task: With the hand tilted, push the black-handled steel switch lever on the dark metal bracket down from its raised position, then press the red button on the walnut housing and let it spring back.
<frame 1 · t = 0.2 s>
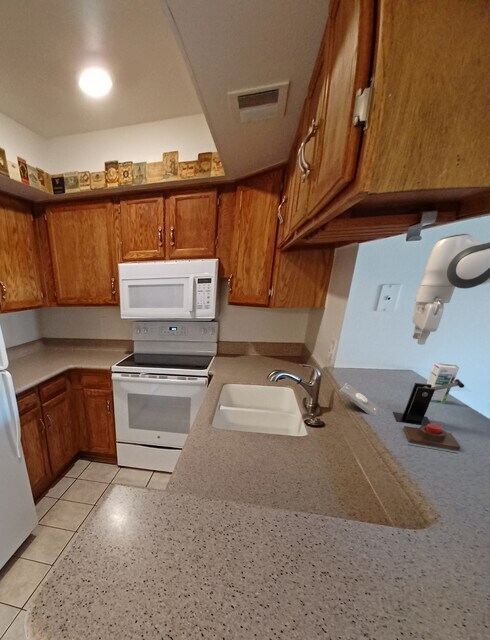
hand: (418, 341, 107), 25 cm above the worktop, tool pointing down, fingers open, 8 cm apart
syrup box: (431, 401, 125), on the worktop
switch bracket: (410, 422, 110), on the worktop
switch lever: (439, 387, 103), point 13 cm above the worktop, hinge at 25.0°
button: (433, 429, 96), point 4 cm above the worktop, slide at 0.1 cm
light switch: (356, 410, 119), on the worktop
button box: (428, 442, 98), on the worktop
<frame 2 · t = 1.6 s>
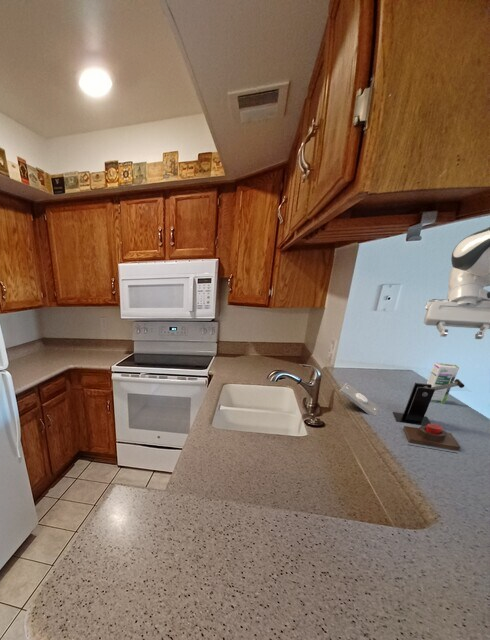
hand: (461, 336, 105), 26 cm above the worktop, tool tilted 45°, fingers open, 8 cm apart
nothing on the worktop moved.
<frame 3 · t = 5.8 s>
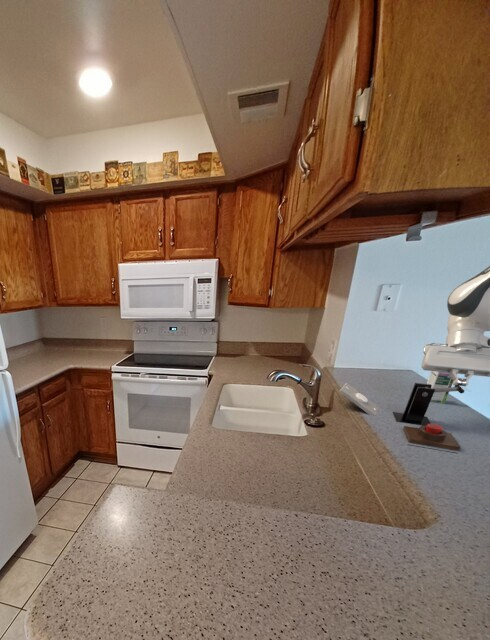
hand: (460, 384, 100), 14 cm above the worktop, tool tilted 45°, fingers closed, pressing on switch lever
switch lever: (439, 390, 103), point 12 cm above the worktop, hinge at 13.5°, touching gripper
everything else where it was.
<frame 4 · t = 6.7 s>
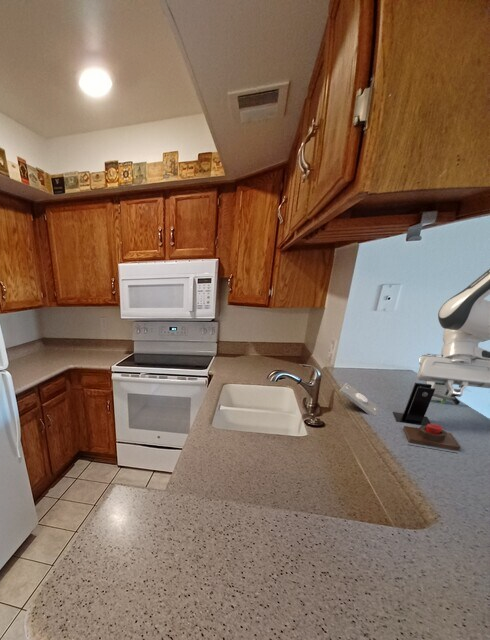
hand: (455, 395, 102), 11 cm above the worktop, tool tilted 45°, fingers closed
switch lever: (437, 395, 104), point 10 cm above the worktop, hinge at -9.5°, touching gripper
everything else where it was.
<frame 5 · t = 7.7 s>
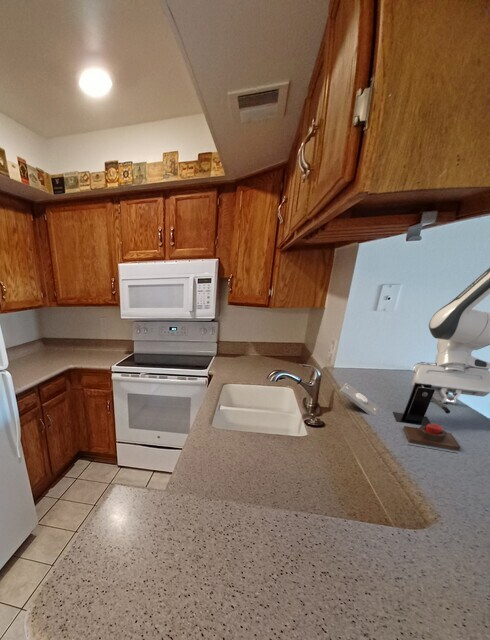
hand: (448, 403, 104), 8 cm above the worktop, tool tilted 45°, fingers closed
switch lever: (433, 399, 105), point 9 cm above the worktop, hinge at -32.5°, touching gripper
everything else where it was.
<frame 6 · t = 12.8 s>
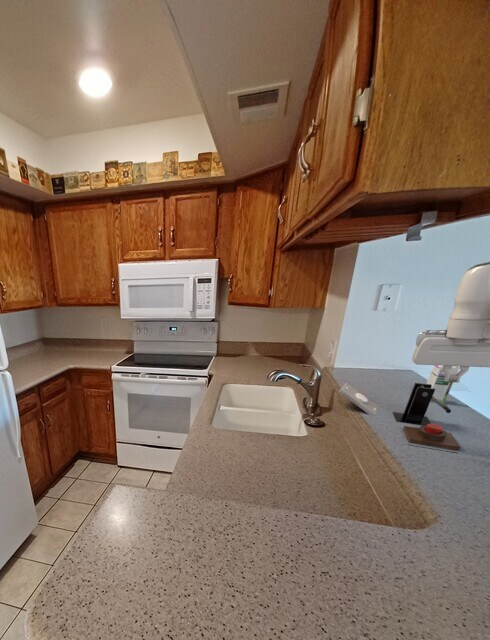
hand: (451, 381, 91), 18 cm above the worktop, tool pointing down, fingers closed
switch lever: (433, 399, 105), point 9 cm above the worktop, hinge at -30.9°
everything else where it was.
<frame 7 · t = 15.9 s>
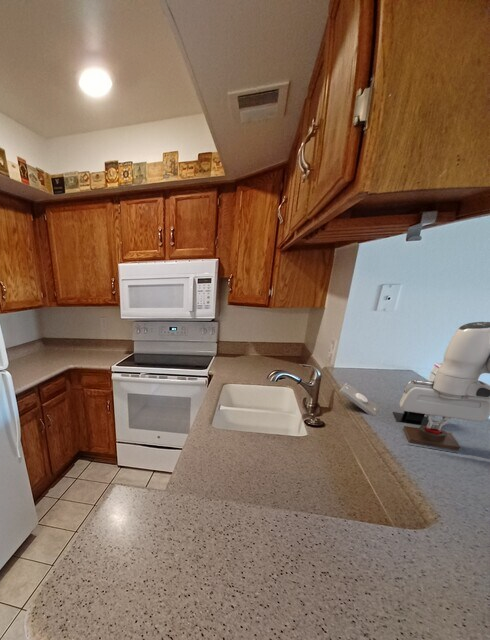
hand: (433, 428, 96), 5 cm above the worktop, tool pointing down, fingers closed, pressing on button
button: (432, 431, 96), point 4 cm above the worktop, slide at -0.7 cm, touching gripper
everything else where it was.
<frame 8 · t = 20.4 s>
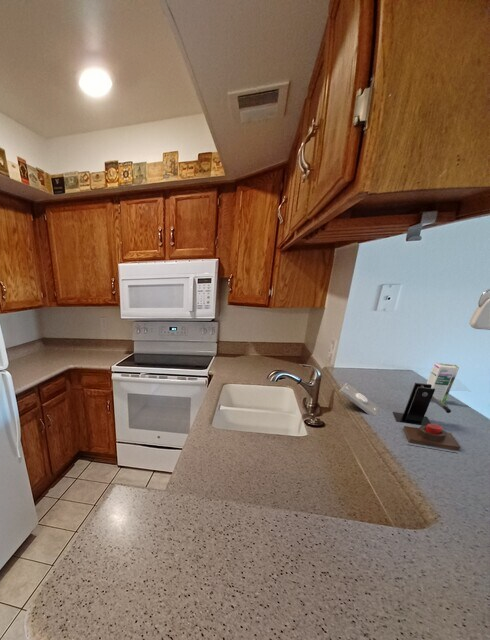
button: (433, 429, 96), point 4 cm above the worktop, slide at 0.1 cm
everything else where it was.
at the end: switch lever at -31° (first picture: +25°); button pushed in 1.1 cm at the most during the clip, back to where it started at the end; button slide at 0.1 cm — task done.
